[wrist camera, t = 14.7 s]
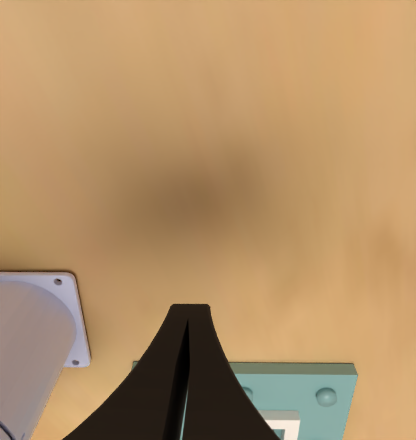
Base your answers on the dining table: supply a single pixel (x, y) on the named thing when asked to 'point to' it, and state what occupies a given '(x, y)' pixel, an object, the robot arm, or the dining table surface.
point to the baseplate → (299, 397)
